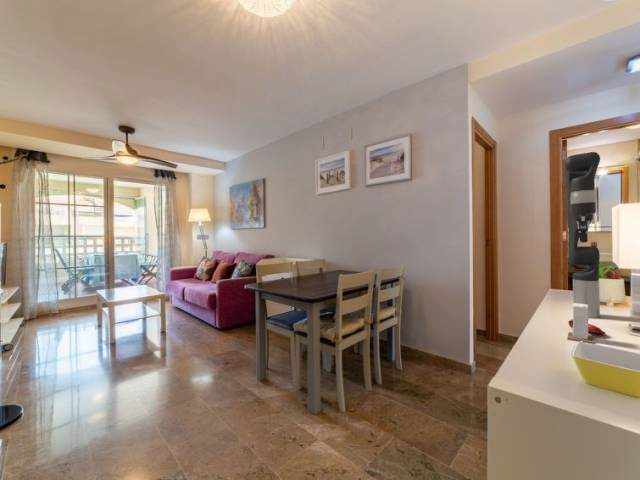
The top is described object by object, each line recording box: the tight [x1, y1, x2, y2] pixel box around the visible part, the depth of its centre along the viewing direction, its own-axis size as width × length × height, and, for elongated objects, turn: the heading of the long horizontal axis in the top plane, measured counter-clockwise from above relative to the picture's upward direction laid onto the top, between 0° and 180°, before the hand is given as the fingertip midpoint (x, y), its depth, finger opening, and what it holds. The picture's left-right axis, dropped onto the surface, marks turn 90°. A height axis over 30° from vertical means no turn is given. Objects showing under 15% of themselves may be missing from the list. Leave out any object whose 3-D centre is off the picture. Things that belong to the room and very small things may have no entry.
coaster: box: [567, 331, 594, 344], centre depth 106 cm, size 9×7×1 cm
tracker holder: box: [567, 318, 606, 335], centre depth 112 cm, size 12×4×10 cm
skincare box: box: [572, 303, 589, 339], centre depth 106 cm, size 6×4×12 cm
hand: (583, 242), depth 115 cm, fingers open, 8 cm apart
